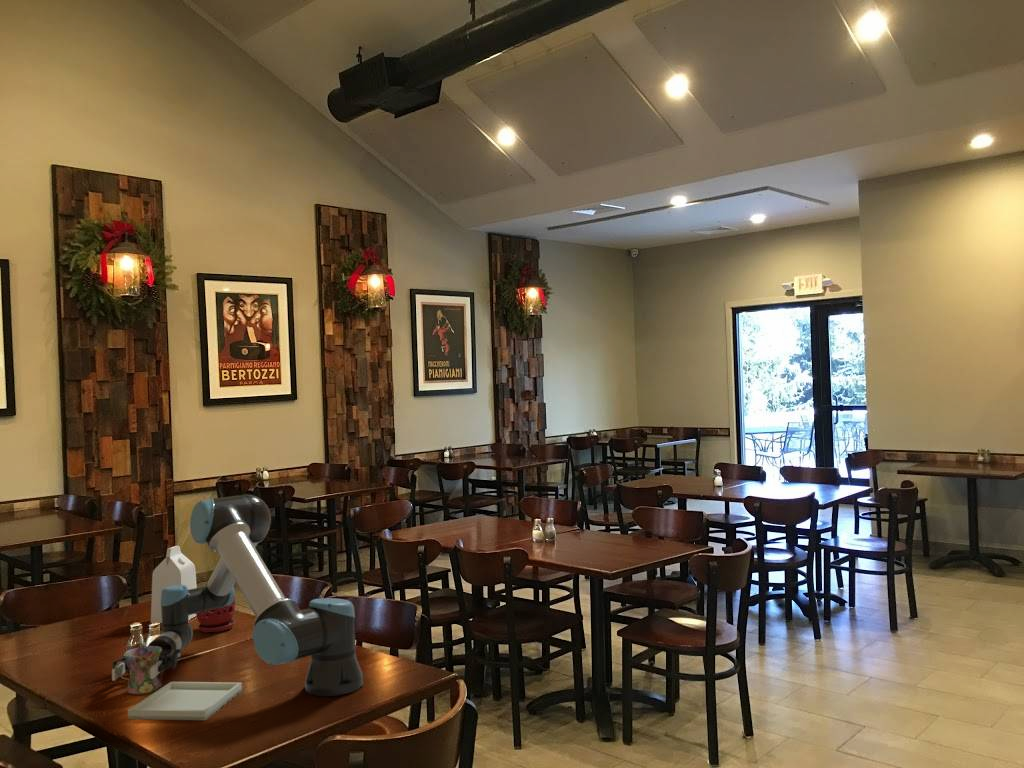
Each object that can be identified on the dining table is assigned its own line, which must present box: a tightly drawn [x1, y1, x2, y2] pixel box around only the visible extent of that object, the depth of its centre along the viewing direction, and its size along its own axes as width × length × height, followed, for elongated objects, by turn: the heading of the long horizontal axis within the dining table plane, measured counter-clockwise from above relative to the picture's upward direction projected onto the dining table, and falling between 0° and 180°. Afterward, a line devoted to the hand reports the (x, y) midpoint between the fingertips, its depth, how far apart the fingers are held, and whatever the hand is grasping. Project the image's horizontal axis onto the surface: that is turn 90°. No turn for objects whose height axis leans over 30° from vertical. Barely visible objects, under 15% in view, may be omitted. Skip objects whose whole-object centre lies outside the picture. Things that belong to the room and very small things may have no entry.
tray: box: [127, 681, 243, 721], centre depth 214 cm, size 20×20×2 cm
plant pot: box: [196, 595, 236, 633], centre depth 284 cm, size 13×13×12 cm
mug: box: [115, 645, 162, 695], centre depth 224 cm, size 12×9×11 cm
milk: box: [150, 545, 198, 624], centre depth 296 cm, size 12×12×26 cm
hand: (132, 674), depth 220 cm, fingers closed on mug, 9 cm apart
